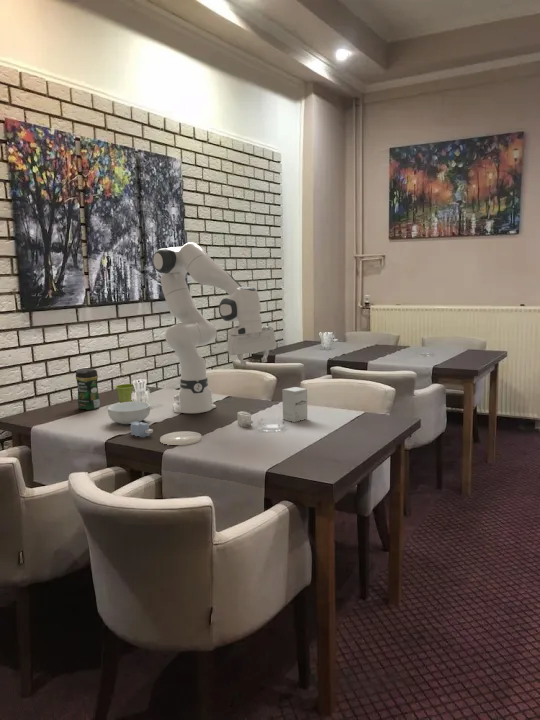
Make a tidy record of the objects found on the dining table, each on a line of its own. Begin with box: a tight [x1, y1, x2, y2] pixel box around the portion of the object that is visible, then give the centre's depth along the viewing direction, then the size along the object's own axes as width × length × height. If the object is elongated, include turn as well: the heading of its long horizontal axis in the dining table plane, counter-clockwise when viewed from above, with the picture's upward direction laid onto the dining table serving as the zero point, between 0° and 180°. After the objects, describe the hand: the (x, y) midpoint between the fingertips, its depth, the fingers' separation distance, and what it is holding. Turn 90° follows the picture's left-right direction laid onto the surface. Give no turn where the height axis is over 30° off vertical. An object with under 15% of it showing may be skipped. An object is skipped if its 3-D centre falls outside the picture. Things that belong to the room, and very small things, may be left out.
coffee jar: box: [75, 367, 101, 411], centre depth 265 cm, size 10×8×19 cm
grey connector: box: [236, 411, 253, 428], centre depth 228 cm, size 10×4×4 cm, turn 24°
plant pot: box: [114, 383, 133, 403], centre depth 272 cm, size 9×9×9 cm
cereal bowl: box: [107, 400, 151, 425], centre depth 238 cm, size 17×17×7 cm
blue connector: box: [130, 421, 154, 438], centre depth 218 cm, size 10×4×4 cm, turn 54°
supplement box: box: [281, 386, 308, 423], centre depth 234 cm, size 7×7×13 cm
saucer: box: [159, 430, 202, 446], centre depth 211 cm, size 15×15×1 cm
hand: (254, 363), depth 226 cm, fingers open, 8 cm apart
